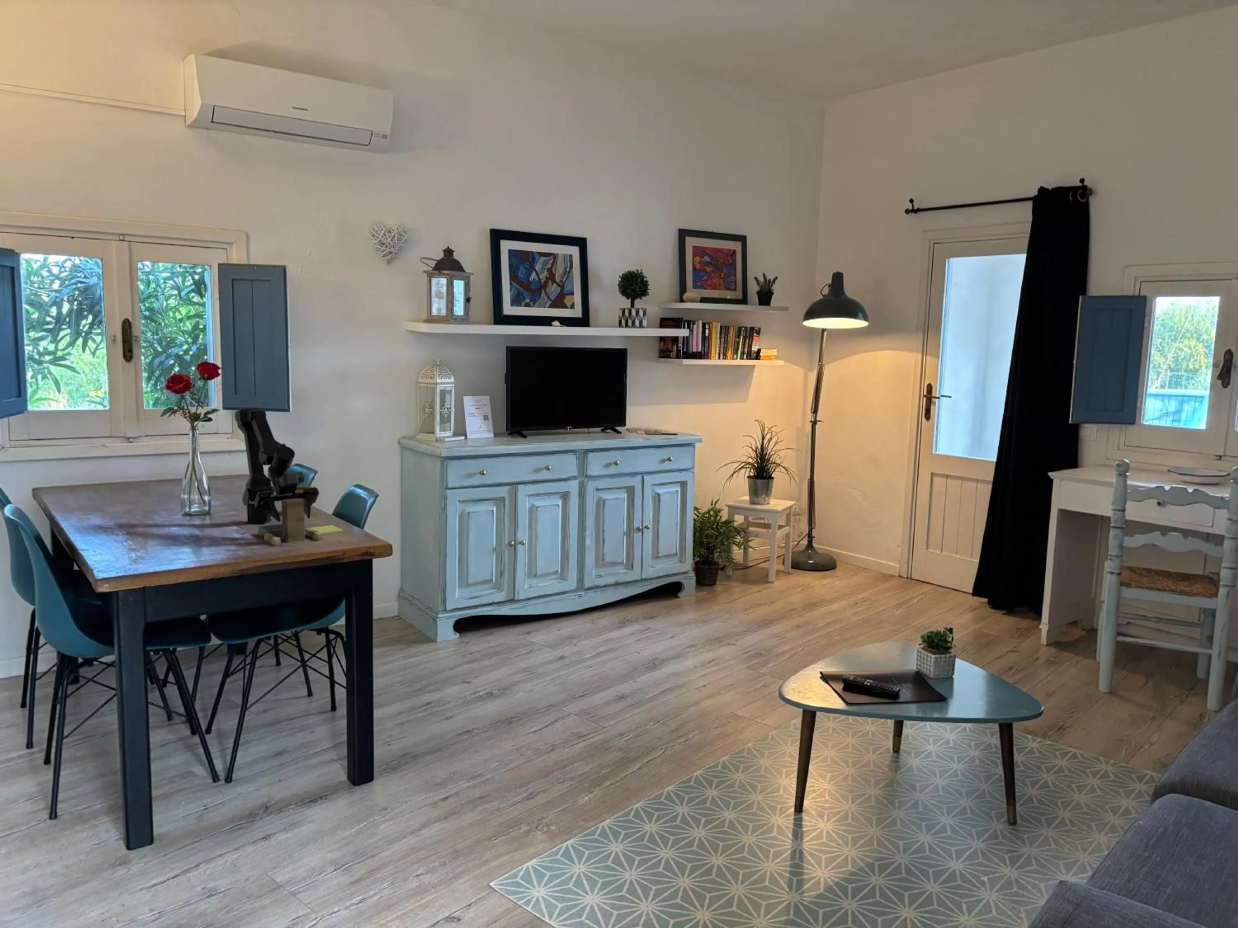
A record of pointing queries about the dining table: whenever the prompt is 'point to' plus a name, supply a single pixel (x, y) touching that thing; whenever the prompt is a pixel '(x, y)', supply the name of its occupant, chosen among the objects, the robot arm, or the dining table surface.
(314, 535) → the brown lane walls
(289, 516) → the walnut block
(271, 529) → the charcoal tray
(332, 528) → the pad
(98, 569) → the dining table surface
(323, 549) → the dining table surface
